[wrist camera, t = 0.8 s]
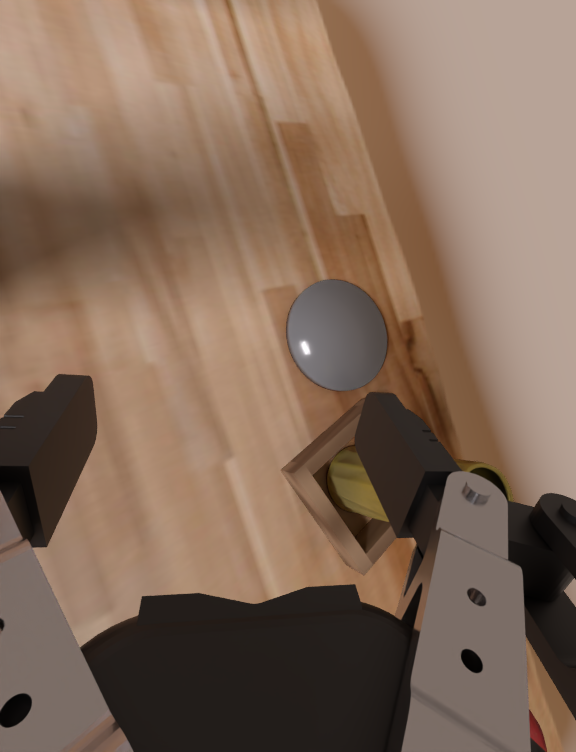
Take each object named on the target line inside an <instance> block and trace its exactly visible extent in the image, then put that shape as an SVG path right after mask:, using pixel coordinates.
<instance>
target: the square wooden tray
mask: <svg viewBox="0 0 576 752" xmlns="http://www.w3.org/2000/svg"><path fill="white" fill-rule="evenodd" d="M364 402H365V399H361V400H360V401H359V402H358V403H356V404H355V405H354V406H353V407H352V408H351V409H350V410H348V411H347V412H346V413H345V414H344V415H343V416H342V417H341V418H339V419H338V420H337V421H336V422H335V423H334V424H333V425H331V426H330V427H329V428H328V429H327V430H326V431H325V432H323V433H322V434H321V435H320V436H319V437H318V438H317V439H315V440H314V441H313V442H312V443H311V444H310V445H309V446H307V447H306V448H305V449H304V450H303V451H302V452H301V453H300V454H298V455H297V456H296V457H295V458H294V459H293V460H292V461H290V462H289V463H288V464H287V465H286V466H285V467H284V468H282V469H281V472H282V473H283V475H284V476H285V477H286V479H287V480H288V482H289V483H290V485H291V486H292V487H293V489H294V490H295V492H296V493H297V495H298V496H299V498H300V499H301V500H302V502H303V503H304V505H305V506H306V508H307V509H308V511H309V512H310V513H311V515H312V516H313V518H314V519H315V521H316V522H317V523H318V525H319V526H320V528H321V529H322V531H323V532H324V534H325V535H326V536H327V538H328V539H329V541H330V542H331V544H332V545H333V547H334V548H335V549H336V551H337V552H338V554H339V555H340V557H341V558H342V559H343V561H344V562H345V564H346V565H347V566H349V567H351V568H352V569H354V570H356V571H357V572H359V573H361V574H362V575H365V574H366V573H367V572H368V571H369V569H370V568H371V567H372V566H373V565H374V563H375V562H376V561H377V560H378V559H379V558H380V556H381V555H382V554H383V553H384V552H385V551H386V549H387V548H388V547H389V546H390V545H391V544H392V542H393V541H394V540H395V539H396V538H397V537H396V535H395V533H394V531H393V529H392V527H391V524H390V522H386V521H382V520H378V519H374V518H372V519H371V521H370V522H369V523H368V524H367V525H366V526H365V527H364V528H363V529H362V530H361V531H360V533H359V534H358V535H357V536H356V537H355V538H354V536H353V535H352V533H351V532H350V530H349V529H348V527H347V526H346V524H345V523H344V521H343V520H342V519H341V517H340V516H339V514H338V513H337V511H336V510H335V508H334V507H333V505H332V504H331V502H330V501H329V499H328V498H327V497H326V495H325V494H324V492H323V491H322V489H321V488H320V486H319V485H318V483H317V482H316V480H315V479H314V478H313V476H312V475H313V474H315V473H316V472H317V471H318V470H319V469H320V468H321V467H322V466H323V465H324V464H325V463H326V462H327V461H329V460H330V459H331V458H332V457H333V456H334V455H335V454H336V453H337V452H338V451H339V450H340V449H341V448H342V447H344V446H345V445H346V444H347V443H348V442H349V441H350V440H351V439H352V438H353V437H354V436H355V433H356V429H357V425H358V422H359V419H360V415H361V412H362V408H363V405H364Z"/></svg>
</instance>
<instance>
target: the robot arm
mask: <svg viewBox="0 0 576 752" xmlns="http://www.w3.org/2000/svg"><path fill="white" fill-rule="evenodd" d="M96 435H97V417H96V407H95V398H94V389H93V382H92V378H91V377H90V376H84V375H66V374H58V375H57V376H56V377H55V378H54V379H53V381H52V382H51V383H50V384H49V386H48V387H47V388H46V389H45V391H44V392H37V391H34V392H32V393H30V394H29V395H27V396H25V397H23V398H22V399H20V400H18V401H16V402H15V403H14V404H13V405H12V406H11V408H10V409H9V410H8V411H7V412H6V413H5V414H4V418H1V419H0V752H546V751H545V750H544V749H542V748H541V747H540V746H539V745H538V744H537V743H536V742H535V741H534V740H533V739H532V738H531V737H530V723H529V701H528V680H527V658H526V637H527V639H528V640H529V642H530V644H531V645H532V647H533V649H534V650H535V652H536V654H537V656H538V657H539V659H540V661H541V662H542V664H543V666H544V667H545V669H546V671H547V672H548V674H549V676H550V677H551V679H552V681H553V683H554V684H555V686H556V688H557V689H558V691H559V693H560V694H561V696H562V698H563V699H564V701H565V703H566V704H567V706H568V708H569V710H570V711H571V712H572V714H573V716H574V718H575V720H576V607H575V606H574V604H573V603H572V602H571V600H570V599H569V597H568V596H567V595H566V593H565V592H564V590H565V589H566V587H567V586H568V585H569V584H570V582H571V581H572V580H573V579H574V578H575V579H576V501H575V500H573V499H571V498H568V497H566V496H563V495H559V494H554V493H549V494H544V495H542V496H541V498H540V499H539V501H538V502H537V504H536V505H535V507H532V506H527V505H523V504H520V503H515V502H512V501H508V500H506V497H505V496H504V494H503V493H502V492H501V491H500V490H499V489H498V488H497V487H496V486H495V485H494V484H493V483H491V482H490V481H488V480H487V479H485V478H483V477H481V476H479V475H476V474H473V473H470V472H464V471H462V470H461V468H460V467H459V466H458V465H457V463H456V462H455V461H454V459H453V458H452V457H451V456H450V454H449V453H448V452H447V450H446V449H445V448H444V447H443V445H442V444H441V443H440V442H438V439H437V438H436V436H435V435H434V434H433V433H431V430H430V429H429V428H428V426H427V425H426V424H425V422H424V421H423V420H422V419H421V418H420V417H418V416H417V415H415V414H414V413H413V412H411V411H410V410H408V409H405V407H404V406H403V405H402V403H401V402H400V401H399V399H398V398H397V397H396V395H395V394H393V393H378V392H370V393H368V394H367V396H366V398H365V402H364V405H363V408H362V412H361V415H360V419H359V422H358V425H357V429H356V433H355V448H356V451H357V454H358V456H359V458H360V460H361V462H362V464H363V466H364V469H365V471H366V473H367V475H368V477H369V479H370V481H371V484H372V486H373V488H374V490H375V492H376V494H377V497H378V499H379V501H380V503H381V505H382V507H383V509H384V512H385V514H386V516H387V518H388V520H389V522H390V524H391V527H392V529H393V531H394V533H395V535H396V537H397V538H414V539H415V541H416V543H417V544H416V546H415V548H414V550H413V553H412V556H411V560H410V564H409V567H408V571H407V575H406V578H405V582H404V585H403V589H402V593H401V596H400V600H399V603H398V607H397V610H396V613H395V616H394V615H392V614H390V613H389V612H386V611H384V610H382V609H380V608H378V607H375V606H372V605H370V604H367V603H363V602H360V598H359V595H358V592H357V589H356V586H355V584H353V585H335V586H318V587H306V588H303V589H300V590H297V591H294V592H291V593H289V594H286V595H283V596H280V597H277V598H274V599H271V600H268V601H265V602H262V603H259V604H250V603H245V602H240V601H235V600H230V599H225V598H220V597H215V596H210V595H206V594H201V593H193V594H176V595H158V596H142V599H141V605H140V610H139V615H138V616H136V617H133V618H130V619H127V620H125V621H123V622H121V623H118V624H116V625H114V626H112V627H110V628H108V629H107V630H105V631H103V632H102V633H100V634H98V635H97V636H95V637H94V638H92V639H91V640H90V641H88V642H87V643H85V644H84V645H83V646H81V647H79V645H78V643H77V641H76V639H75V637H74V635H73V633H72V630H71V628H70V626H69V624H68V622H67V620H66V618H65V616H64V614H63V612H62V609H61V607H60V605H59V603H58V601H57V599H56V597H55V595H54V593H53V591H52V588H51V586H50V584H49V582H48V580H47V578H46V576H45V574H44V572H43V570H42V567H41V565H40V563H39V561H38V559H37V557H36V555H35V553H34V551H33V549H32V548H33V547H47V546H48V543H49V541H50V539H51V537H52V535H53V533H54V530H55V528H56V526H57V524H58V522H59V520H60V518H61V515H62V513H63V511H64V509H65V507H66V505H67V502H68V500H69V498H70V496H71V494H72V492H73V489H74V487H75V485H76V483H77V481H78V479H79V476H80V474H81V472H82V470H83V468H84V466H85V463H86V461H87V459H88V457H89V455H90V453H91V451H92V448H93V446H94V444H95V440H96ZM525 635H526V636H525Z"/></svg>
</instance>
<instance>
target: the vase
mask: <svg viewBox="0 0 576 752" xmlns="http://www.w3.org/2000/svg"><path fill="white" fill-rule="evenodd" d="M454 461H455V462H456V463H457V465H458V466H459V467H460V468H461V470H462V471H464V472H470V473H473V474H476V475H479V476H481V477H483V478H485V479H487V480H488V481H490V482H491V483H493V484H494V485H495V486H496V487H497V488H498V489H499V490H500V491H501V492H502V493H503V494H504V496H505V497H506V500H508V501H512V502H513V495H512V492H511V488H510V486H509V484H508V482H507V480H506V478H505V476H504V475H503V474H502V473H501V472H500V471H499V470H498V469H497V468H495V467H493V466H491V465H489V464H486V463H482V462H474V461H466V460H457V459H454ZM327 485H328V490H329V493H330V495H331V498H332V499H333V501H334V502H335V503H336V505H338V506H339V507H340V508H342V509H343V510H346V511H348V512H356V513H359V514H361V515H364V516H367V517H371V518H374V519H378V520H382V521H386V522H389V520H388V518H387V516H386V514H385V512H384V509H383V507H382V505H381V503H380V501H379V499H378V497H377V494H376V492H375V490H374V488H373V486H372V484H371V481H370V479H369V477H368V475H367V473H366V471H365V469H364V466H363V464H362V462H361V460H360V458H359V456H358V454H357V451H356V448H355V446H351V447H347V448H345V449H343V450H342V451H340V452H339V453H338V454H337V455H336V456H335V457H334V459H333V460H332V462H331V465H330V467H329V470H328V475H327Z"/></svg>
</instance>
